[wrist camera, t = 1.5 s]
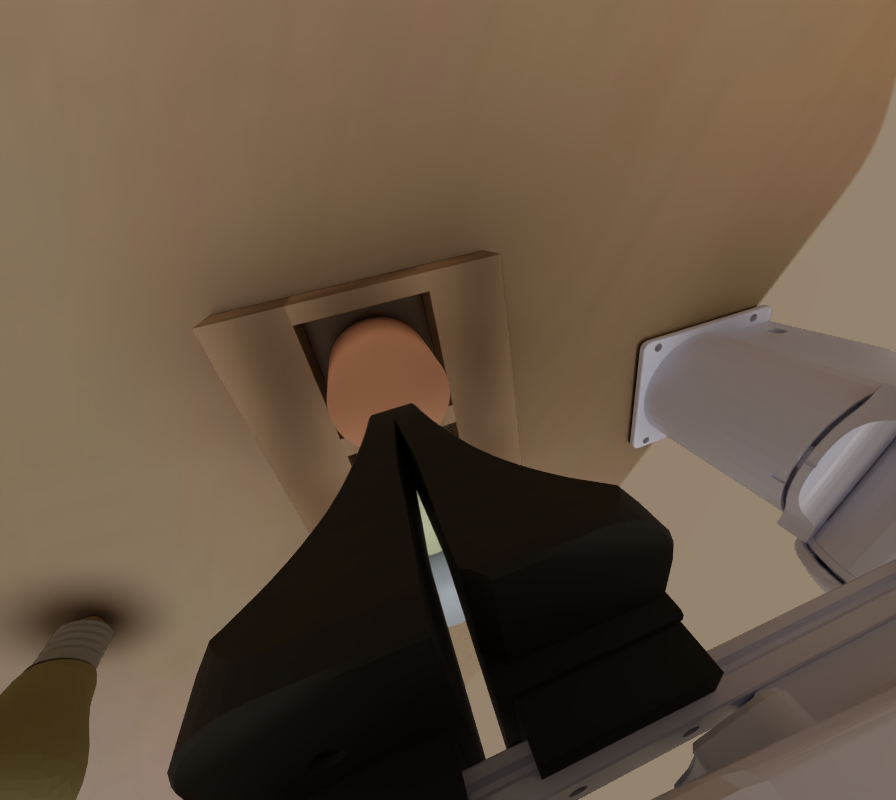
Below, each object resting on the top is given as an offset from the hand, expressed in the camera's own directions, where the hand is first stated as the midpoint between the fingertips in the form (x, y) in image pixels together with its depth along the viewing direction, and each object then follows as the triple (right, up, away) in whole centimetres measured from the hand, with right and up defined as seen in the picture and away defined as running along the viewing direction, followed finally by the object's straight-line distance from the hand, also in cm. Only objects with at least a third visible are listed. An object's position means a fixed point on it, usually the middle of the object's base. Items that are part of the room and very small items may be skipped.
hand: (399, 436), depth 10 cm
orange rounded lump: (-2, +3, +5) cm, 6 cm away
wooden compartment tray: (-1, -2, +10) cm, 10 cm away
